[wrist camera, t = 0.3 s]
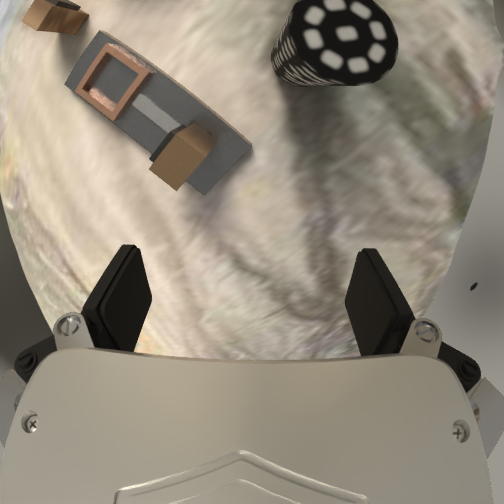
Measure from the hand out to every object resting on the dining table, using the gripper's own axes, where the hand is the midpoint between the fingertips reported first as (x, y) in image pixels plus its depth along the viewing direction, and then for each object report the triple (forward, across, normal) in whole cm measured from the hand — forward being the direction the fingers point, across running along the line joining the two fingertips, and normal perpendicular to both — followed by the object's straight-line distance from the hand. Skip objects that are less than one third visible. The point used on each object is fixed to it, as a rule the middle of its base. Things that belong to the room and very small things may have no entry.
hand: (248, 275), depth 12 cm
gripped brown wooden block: (+31, +29, -24) cm, 49 cm away
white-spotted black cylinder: (+31, -6, -12) cm, 34 cm away
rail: (+31, +14, -6) cm, 34 cm away
